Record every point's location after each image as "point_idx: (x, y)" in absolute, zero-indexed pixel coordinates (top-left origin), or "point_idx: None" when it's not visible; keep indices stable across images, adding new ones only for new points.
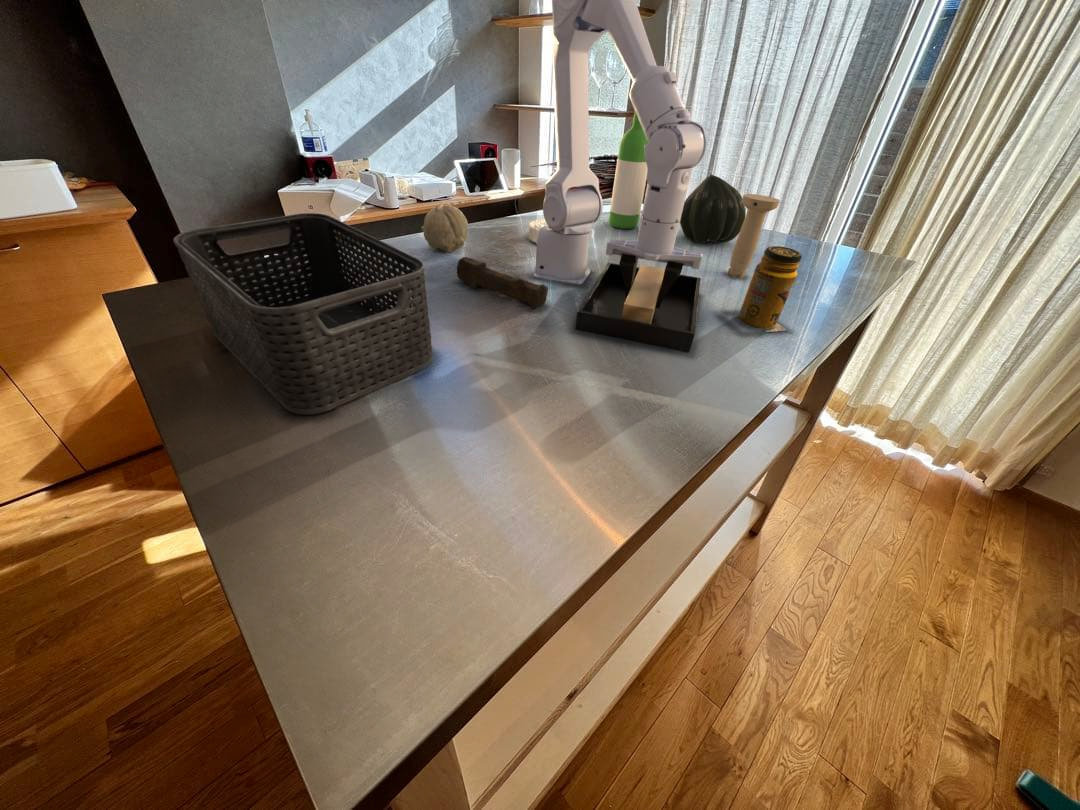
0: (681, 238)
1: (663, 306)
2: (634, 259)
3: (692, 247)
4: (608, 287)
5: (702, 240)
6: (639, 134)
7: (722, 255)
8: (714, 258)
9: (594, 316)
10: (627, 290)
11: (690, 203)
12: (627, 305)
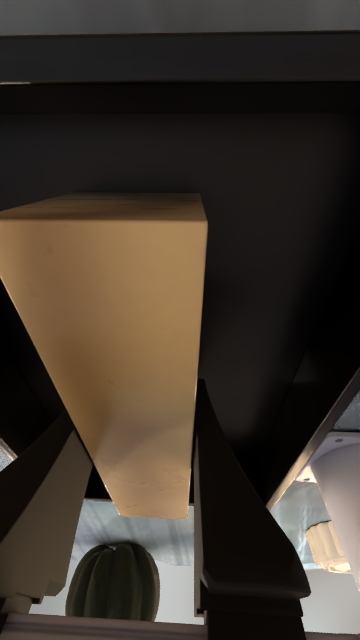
0: (152, 545)
1: None
2: (212, 618)
3: (131, 536)
4: (254, 438)
5: (120, 549)
6: None
7: (87, 529)
8: (93, 525)
9: None
10: (207, 415)
11: None
12: (178, 217)
